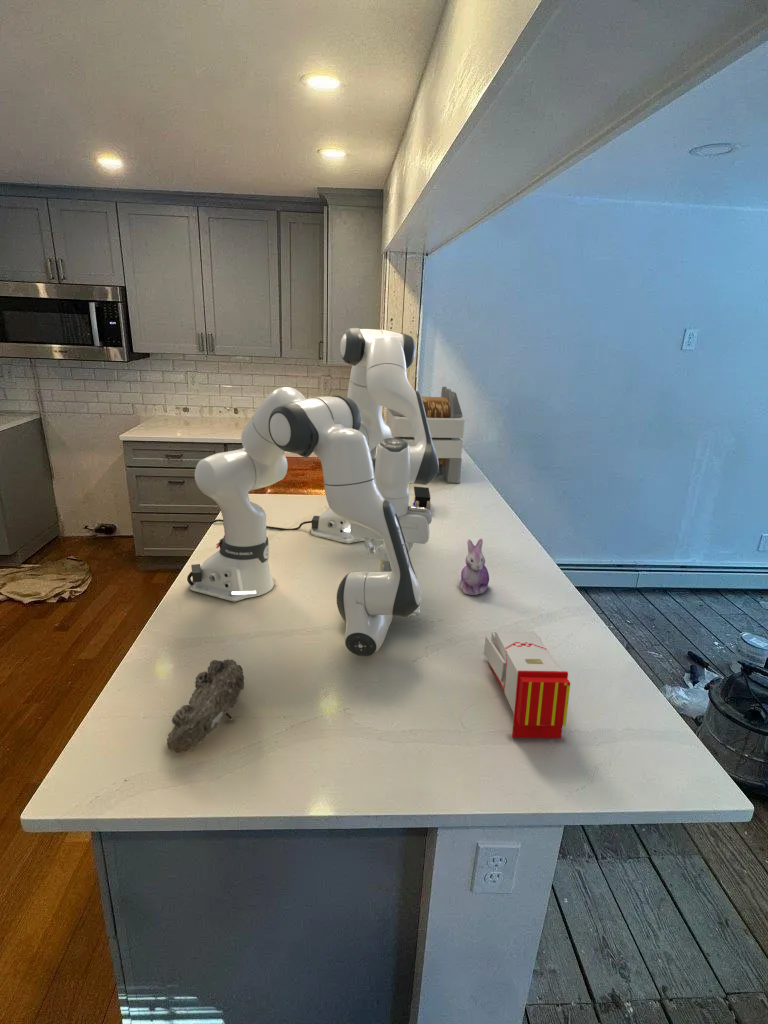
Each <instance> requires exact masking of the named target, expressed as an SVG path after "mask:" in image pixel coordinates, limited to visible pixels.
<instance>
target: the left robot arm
mask: <svg viewBox="0 0 768 1024" xmlns="http://www.w3.org/2000/svg"><path fill="white" fill-rule="evenodd" d="M360 426H361V414H360V410H359V408H358V406H357V405H356V403H355V402H354V401H353V400H351V399H350V398H347V396H344V395H335V394H334V395H330V396H329V395H328V396H313V397H309V398H306V397H305V396H304V394H303V393H301V392H300V391H299V390H298V389H296V388H293V387H290V386H281V387H278V388H276V389H275V390H273V391H272V392H271V393H269V395H268V396H267V397H265V399H264V400H262V402H261V403H260V405H259V406H258V407H257V408H256V410H255V411H254V413H253V414H252V416H251V418H250V419H249V420H248V421H247V423H246V425H245V426H244V428H243V430H242V432H241V437H240V440H241V445H242V448H239V449H234V450H228V451H223V452H217V453H214V454H212V455H209V456H207V457H205V458H202V459H201V460H199V461H198V462H197V464H196V466H195V469H194V480H195V484H196V487H197V488H198V490H199V491H200V492H201V493H202V494H203V495H205V496H207V497H208V498H210V499H212V500H213V501H214V502H215V503H216V505H217V506H218V508H219V510H220V512H221V516H222V520H223V522H222V523H223V531H224V535H223V537H222V538H221V539H219V542H217V543H216V544H215V546H216V547H215V548H216V549H218V548H219V550H218V551H216V552H215V553H214V554H212V555H210V556H209V557H207V558H206V559H205V560H204V561H203V563H202V564H200V563H198V564H197V563H195V564H191V565H190V566H191V571H190V572H189V573H188V575H187V577H186V581H187V583H188V584H189V585H190V590H191V591H193V592H195V593H196V592H197V593H200V594H204V595H208V596H211V597H214V598H219V599H221V600H222V599H223V600H226V601H229V602H240V601H242V600H244V599H250V598H255V597H259V596H262V595H265V594H266V593H269V592H270V591H271V590H273V588H274V586H275V582H274V579H273V576H272V572H271V568H270V562H269V557H270V546H269V543H270V542H269V537H268V535H267V528H266V526H267V513H266V512H265V510H264V509H263V507H262V506H261V505H259V504H257V503H255V502H253V501H251V500H250V497H249V492H250V491H254V490H259V489H263V488H266V487H270V486H272V485H275V484H276V483H278V482H280V481H282V480H284V478H285V477H286V475H287V473H288V468H289V466H288V465H289V464H288V459H287V457H286V454H285V453H291V454H296V455H299V456H301V457H303V458H309V457H311V455H312V453H313V454H314V455H315V456H316V457H317V458H318V460H319V461H320V464H321V469H322V479H323V485H324V493H325V498H326V502H327V505H328V508H329V507H330V509H331V510H332V511H333V512H334V513H335V514H336V515H337V516H339V517H340V518H342V519H344V520H346V521H348V522H351V523H354V524H357V525H360V526H363V527H366V528H368V529H371V530H372V531H374V532H376V533H377V534H378V535H379V536H380V537H381V538H382V539H383V540H382V541H383V544H385V548H386V551H387V554H388V558H389V561H390V565H391V568H392V571H391V572H378V571H355V572H348V573H347V574H346V575H345V576H343V578H342V579H341V581H340V583H339V584H338V588H337V591H336V607H337V610H338V613H339V615H340V617H341V618H342V620H343V621H344V623H345V633H344V646H345V648H346V649H347V650H348V652H350V653H351V654H353V655H355V656H358V657H370V656H372V655H374V654H376V653H377V652H378V651H379V650H380V648H381V647H382V645H383V644H384V641H385V639H386V636H387V634H388V631H389V628H390V625H391V623H392V621H393V618H394V617H404V618H413V617H415V616H418V615H419V614H420V612H421V607H422V602H423V601H422V600H423V595H422V590H421V586H420V583H419V580H418V577H417V575H416V572H415V569H414V567H413V566H414V565H413V564H412V560H411V557H410V552H409V553H408V549H407V548H408V545H407V542H405V539H404V535H403V532H402V529H401V525H400V522H399V519H398V516H397V513H396V511H395V508H394V506H393V505H392V503H391V502H389V501H387V500H385V499H384V498H383V496H382V495H381V494H380V492H379V490H378V488H377V485H376V481H375V474H374V467H373V462H372V457H371V453H370V449H369V446H368V443H367V440H366V437H365V436H364V435H363V433H361V432H360V431H359V429H360Z"/></svg>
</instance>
